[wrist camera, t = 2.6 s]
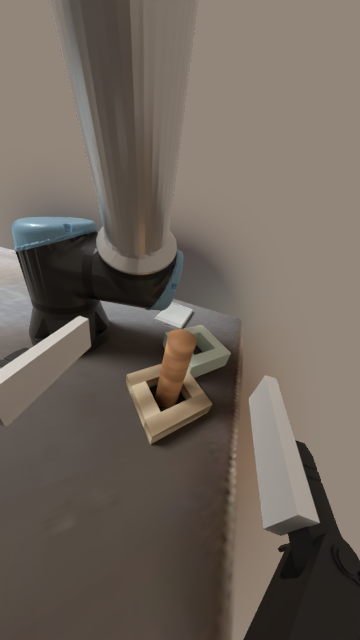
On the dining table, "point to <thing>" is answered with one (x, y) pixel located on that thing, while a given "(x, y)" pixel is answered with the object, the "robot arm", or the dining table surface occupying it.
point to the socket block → (205, 352)
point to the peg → (174, 366)
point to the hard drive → (174, 316)
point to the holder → (172, 417)
